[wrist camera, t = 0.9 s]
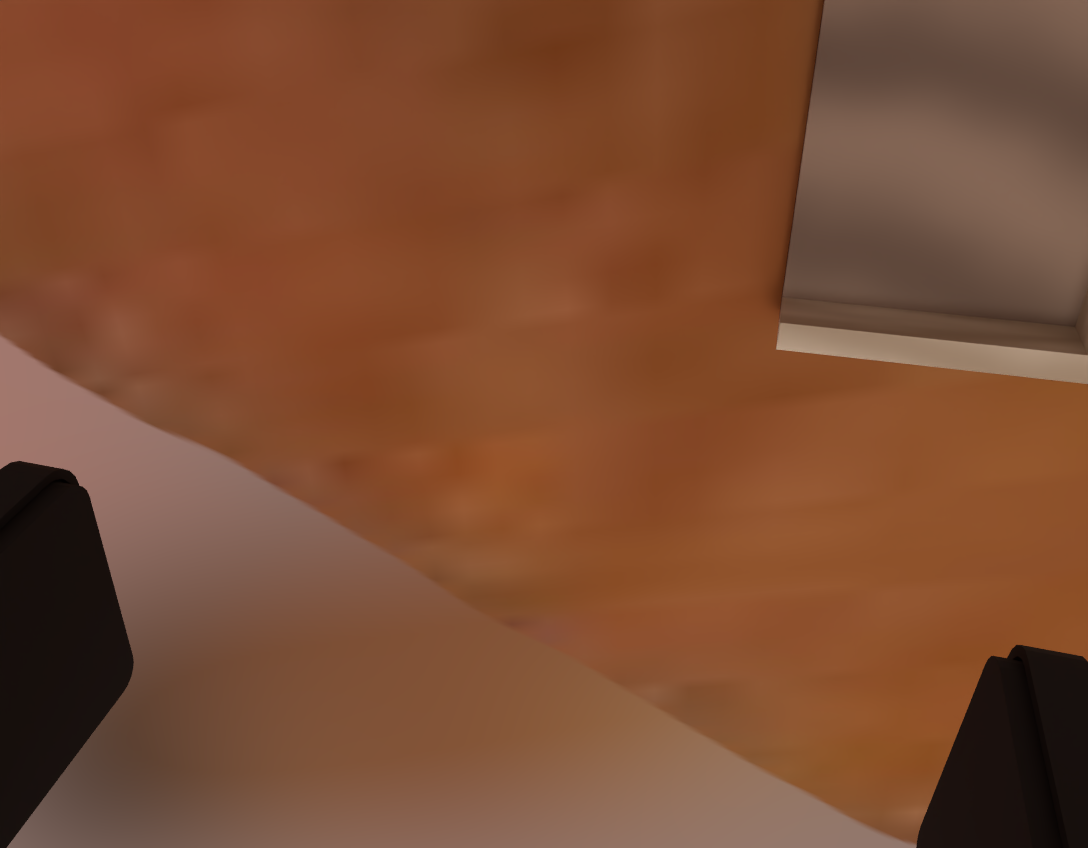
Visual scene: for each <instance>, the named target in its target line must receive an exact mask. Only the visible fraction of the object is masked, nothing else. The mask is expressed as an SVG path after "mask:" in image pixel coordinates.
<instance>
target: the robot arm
mask: <svg viewBox="0 0 1088 848" xmlns="http://www.w3.org/2000/svg"><path fill="white" fill-rule="evenodd" d="M132 670H133V655H132V651H131V647H130V644H129V640H128V637H127V633H126V629H125V625H124V622H123V618H122V614H121V611H120V607H119V603H118V600H117V596H116V592H115V588H114V585H113V581H112V577H111V574H110V570H109V567H108V563H107V559H106V555H105V552H104V548H103V544H102V541H101V537H100V533H99V529H98V526H97V522H96V519H95V515H94V511H93V508H92V504H91V500H90V497H89V494H88V492H87V490H86V489H85V488H83V487H81V486H79V483H78V481H77V479H76V477H75V476H74V475H73V474H72V473H71V472H70V471H68V470H64V469H59V468H54V467H49V466H43V465H38V464H33V463H27V462H22V461H17V462H12V463H9V464H8V465H6V466H5V467H3V468H2V469H0V848H7V846H8V845H9V844H10V842H11V841H12V840H13V838H14V837H15V836H16V834H17V833H18V832H19V830H20V829H21V828H22V826H23V825H24V824H25V822H26V821H27V820H28V818H29V817H30V816H31V814H32V813H33V812H34V810H35V809H36V808H37V806H38V805H39V804H40V802H41V801H42V800H43V798H44V797H45V796H46V794H47V793H48V792H49V790H50V789H51V788H52V786H53V785H54V784H55V782H56V781H57V780H58V778H59V777H60V775H61V774H62V773H63V772H64V770H65V769H66V768H67V766H68V765H69V764H70V762H71V761H72V760H73V758H74V757H75V756H76V754H77V753H78V752H79V750H80V749H81V748H82V747H83V745H84V744H85V742H86V741H87V740H88V739H89V737H90V736H91V734H92V733H93V732H94V730H95V729H96V728H97V726H98V725H99V724H100V723H101V721H102V720H103V719H104V717H105V716H106V714H107V713H108V712H109V711H110V709H111V708H112V707H113V705H114V704H115V703H116V701H117V700H118V698H119V697H120V696H121V695H122V693H123V692H124V690H125V689H126V687H127V685H128V683H129V681H130V678H131V675H132ZM916 848H1088V662H1087V660H1086V659H1085V658H1084V657H1083V656H1077V655H1072V654H1067V653H1061V652H1056V651H1050V650H1045V649H1039V648H1034V647H1029V646H1023V645H1016V646H1015V647H1014V648H1013V649H1012V650H1011V652H1010V654H1009V656H1008V657H1007V658H1002V657H996V656H991V657H990V658H989V659H988V660H987V662H986V664H985V667H984V669H983V672H982V674H981V677H980V679H979V682H978V684H977V687H976V689H975V692H974V694H973V697H972V699H971V702H970V704H969V707H968V709H967V712H966V714H965V717H964V719H963V722H962V724H961V727H960V729H959V732H958V734H957V737H956V739H955V742H954V744H953V747H952V749H951V752H950V754H949V757H948V759H947V762H946V764H945V767H944V769H943V772H942V774H941V777H940V779H939V782H938V784H937V787H936V789H935V792H934V794H933V797H932V799H931V802H930V804H929V807H928V809H927V812H926V814H925V817H924V819H923V822H922V824H921V827H920V830H919V834H918V840H917V847H916Z"/></svg>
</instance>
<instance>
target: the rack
mask: <svg viewBox="0 0 1088 848" xmlns="http://www.w3.org/2000/svg"><path fill="white" fill-rule="evenodd" d="M776 349H779V350H788V351H797V352H806V353H815V354H824V355H833V356H842V357H851V358H860V359H869V360H878V361H887V362H896V363H905V364H914V365H923V366H932V367H940V368H949V369H958V370H967V371H976V372H985V373H994V374H1003V375H1012V376H1021V377H1030V378H1039V379H1048V380H1057V381H1066V382H1075V383H1084V384H1088V0H824V5H823V12H822V19H821V26H820V33H819V40H818V47H817V54H816V61H815V68H814V75H813V82H812V89H811V96H810V103H809V110H808V117H807V124H806V131H805V138H804V145H803V152H802V159H801V166H800V173H799V180H798V187H797V194H796V201H795V208H794V216H793V223H792V230H791V237H790V244H789V251H788V258H787V265H786V272H785V279H784V286H783V293H782V300H781V307H780V315H779V326H778V336H777V347H776Z"/></svg>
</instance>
